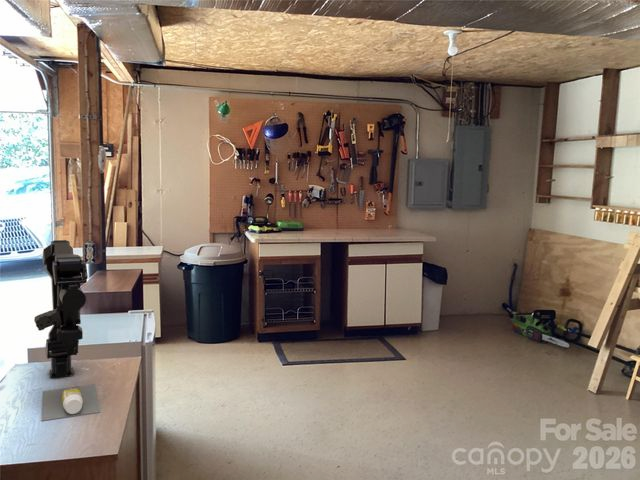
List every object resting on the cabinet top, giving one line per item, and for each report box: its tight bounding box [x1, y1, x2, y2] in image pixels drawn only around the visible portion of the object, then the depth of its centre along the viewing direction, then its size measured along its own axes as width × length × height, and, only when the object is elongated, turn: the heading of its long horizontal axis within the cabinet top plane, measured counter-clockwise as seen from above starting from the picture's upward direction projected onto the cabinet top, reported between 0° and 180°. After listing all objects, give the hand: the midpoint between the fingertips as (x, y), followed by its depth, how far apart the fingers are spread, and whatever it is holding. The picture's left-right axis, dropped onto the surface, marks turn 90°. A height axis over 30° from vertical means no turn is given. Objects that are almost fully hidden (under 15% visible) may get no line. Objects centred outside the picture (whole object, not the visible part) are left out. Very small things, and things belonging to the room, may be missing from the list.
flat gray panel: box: [40, 384, 101, 422], centre depth 146 cm, size 20×14×1 cm
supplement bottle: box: [62, 386, 83, 414], centre depth 141 cm, size 5×5×8 cm
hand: (69, 354), depth 148 cm, fingers closed
